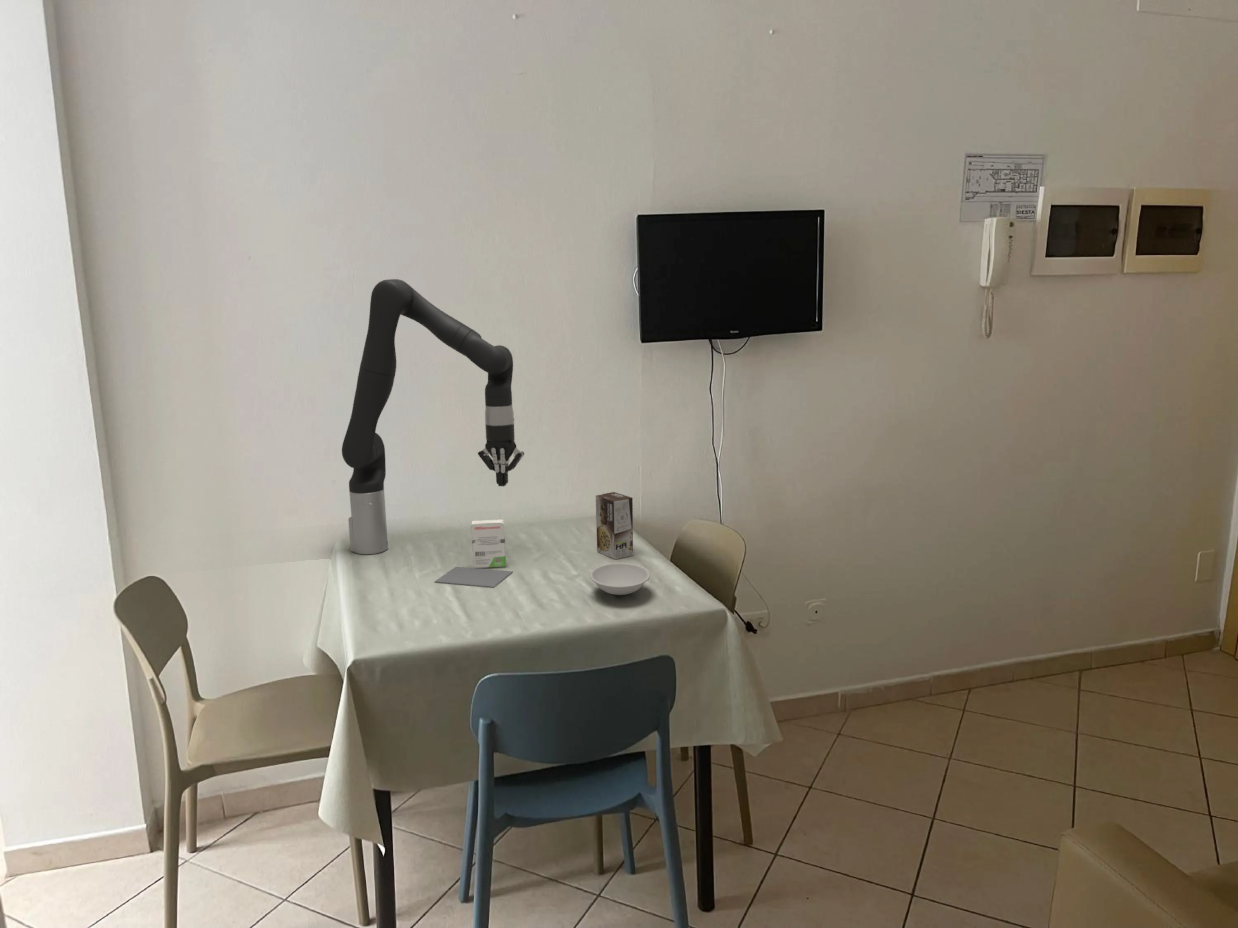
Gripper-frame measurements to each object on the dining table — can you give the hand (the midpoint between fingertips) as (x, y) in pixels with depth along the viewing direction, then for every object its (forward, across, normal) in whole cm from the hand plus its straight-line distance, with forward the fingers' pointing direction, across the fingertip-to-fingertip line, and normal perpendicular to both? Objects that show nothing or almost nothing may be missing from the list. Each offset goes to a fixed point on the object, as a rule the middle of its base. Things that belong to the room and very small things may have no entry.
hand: (502, 485), depth 247 cm
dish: (+20, +39, -22) cm, 49 cm away
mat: (+19, 0, -20) cm, 28 cm away
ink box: (+19, 0, -10) cm, 22 cm away
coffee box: (+20, +29, +8) cm, 36 cm away
